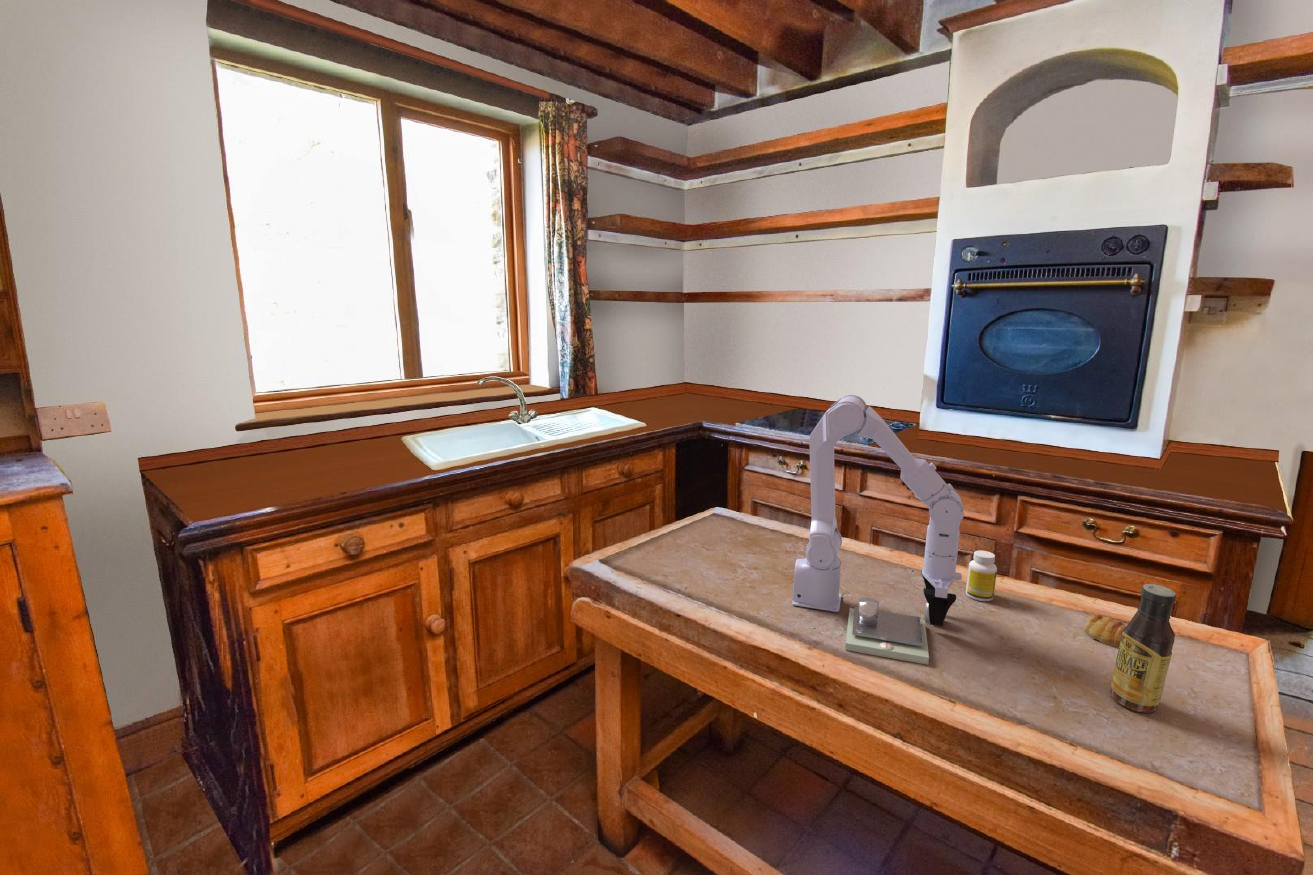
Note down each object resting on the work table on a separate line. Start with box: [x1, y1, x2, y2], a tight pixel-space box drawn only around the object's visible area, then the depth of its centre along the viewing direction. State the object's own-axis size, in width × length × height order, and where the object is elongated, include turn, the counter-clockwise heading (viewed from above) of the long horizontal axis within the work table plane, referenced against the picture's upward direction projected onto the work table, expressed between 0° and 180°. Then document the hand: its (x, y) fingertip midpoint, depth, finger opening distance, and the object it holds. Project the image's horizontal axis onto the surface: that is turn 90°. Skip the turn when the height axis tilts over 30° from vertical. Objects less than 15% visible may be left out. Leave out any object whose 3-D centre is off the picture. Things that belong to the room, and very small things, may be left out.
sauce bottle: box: [1110, 583, 1177, 714], centre depth 95 cm, size 6×6×20 cm
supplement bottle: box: [965, 550, 998, 602], centre depth 131 cm, size 5×5×10 cm
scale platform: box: [852, 606, 923, 646], centre depth 117 cm, size 12×10×2 cm
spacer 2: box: [923, 600, 945, 627], centre depth 122 cm, size 4×4×4 cm
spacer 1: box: [858, 596, 880, 626], centre depth 117 cm, size 4×4×4 cm
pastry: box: [1083, 613, 1127, 649], centre depth 115 cm, size 9×7×4 cm
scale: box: [844, 607, 930, 666], centre depth 116 cm, size 14×14×2 cm
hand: (934, 615), depth 122 cm, fingers open, 7 cm apart
